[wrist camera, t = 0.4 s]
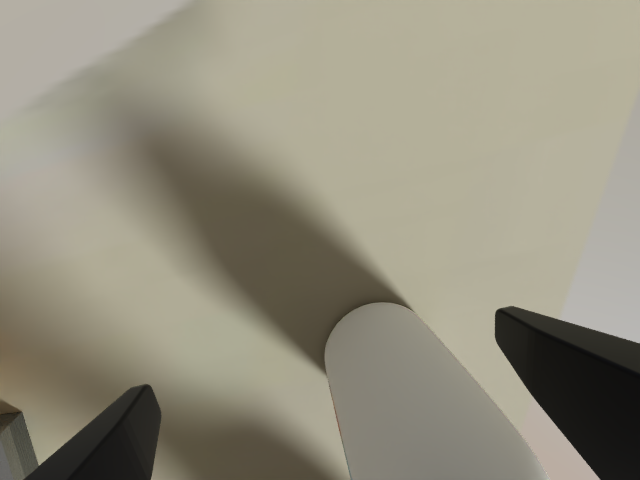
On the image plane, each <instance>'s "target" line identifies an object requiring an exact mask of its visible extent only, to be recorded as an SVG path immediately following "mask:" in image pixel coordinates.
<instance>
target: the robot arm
mask: <svg viewBox="0 0 640 480" xmlns="http://www.w3.org/2000/svg"><path fill="white" fill-rule="evenodd" d="M495 339H496V342H497V344H498V346H499V347H500V349H501V350H502V352H503V353H504V355H505V356H506V358H507V359H508V361H509V362H510V364H511V365H512V367H513V368H514V370H515V371H516V373H517V374H518V376H519V377H520V379H521V380H522V382H523V383H524V385H525V386H526V388H527V389H528V391H529V392H530V393H531V395H532V396H533V397H534V399H535V400H536V401H537V402H538V404H539V405H540V406H541V407H542V408H543V410H544V411H545V412H546V413H547V415H548V416H549V417H550V418H551V420H552V421H553V422H554V423H555V424H556V426H557V427H558V428H559V429H560V431H561V432H562V433H563V434H564V436H565V437H566V438H567V439H568V440H569V442H570V443H571V444H572V445H573V447H574V448H575V449H576V450H577V451H578V453H579V454H580V455H581V456H582V458H583V459H584V460H585V461H586V463H587V464H588V465H589V466H590V467H591V469H592V470H593V471H594V472H595V474H596V475H597V476H598V477H599V478H600V480H640V343H636V342H633V341H630V340H626V339H622V338H619V337H616V336H613V335H609V334H606V333H602V332H599V331H596V330H592V329H589V328H585V327H582V326H579V325H575V324H572V323H568V322H565V321H562V320H558V319H555V318H552V317H548V316H545V315H541V314H538V313H535V312H531V311H528V310H524V309H521V308H518V307H514V306H509V307H504V308H500V309H498V310H497V311H496V313H495ZM160 423H161V410H160V407H159V404H158V402H157V399H156V397H155V394H154V392H153V389H152V387H151V386H150V385H148V384H145V385H140V386H135V387H132V388H130V389H129V390H127V391H126V392H125V393H124V394H123V395H122V396H120V397H119V398H118V399H117V400H116V401H115V402H113V403H112V404H111V405H110V406H109V407H108V408H106V409H105V410H104V411H103V412H102V413H101V414H99V415H98V416H97V417H96V418H95V419H94V420H92V421H91V422H90V423H89V424H88V425H87V426H85V427H84V428H83V429H82V430H81V431H79V432H78V433H77V434H76V435H75V436H74V437H72V438H71V439H70V440H69V441H68V442H67V443H65V444H64V445H63V446H62V447H61V448H60V449H58V450H57V451H56V452H55V453H54V454H53V455H51V456H50V457H49V458H48V459H47V460H46V461H44V462H43V463H42V464H41V465H40V466H39V467H37V468H36V469H35V470H34V471H33V472H31V473H30V474H29V475H28V476H27V477H26V478H24V479H23V480H151V476H152V470H153V464H154V458H155V452H156V447H157V441H158V435H159V429H160Z"/></svg>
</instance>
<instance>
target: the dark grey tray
mask: <svg viewBox="0 0 640 480" xmlns="http://www.w3.org/2000/svg"><path fill="white" fill-rule="evenodd" d="M37 467H39V466H38V463H37V460H36V456H35V453H34V450H33V447H32V443H31V440H30V437H29V434H28V430H27V427H26V424H25V420H24V417H23V414H22V412H19V413H11V414H3V415H0V480H23V479H24V478H26V477H27V476H28V475H29V474H30V473H31V472H33V471H34V470H35V469H36V468H37Z"/></svg>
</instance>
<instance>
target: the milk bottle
mask: <svg viewBox="0 0 640 480" xmlns="http://www.w3.org/2000/svg"><path fill="white" fill-rule="evenodd" d="M324 359H325V367H326V373H327V378H328V382H329V387H330V391H331V396H332V400H333V404H334V409H335V413H336V418H337V422H338V427H339V431H340V435H341V439H342V444H343V448H344V452H345V456H346V460H347V465H348V469H349V473H350V477H351V480H550V478H549V476H548V474H547V473H546V471H545V469H544V467H543V466H542V464H541V462H540V461H539V459H538V458H537V456H536V455H535V453H534V452H533V450H532V449H531V447H530V446H529V444H528V443H527V442H526V440H525V439H524V438H523V437H522V435H521V434H520V433H519V432H518V430H517V429H516V428H515V427H514V425H513V424H512V423H511V422H510V420H509V419H508V418H507V417H506V415H505V414H504V413H503V412H502V410H501V409H500V408H499V407H498V406H497V404H496V403H495V402H494V401H493V400H492V399H491V397H490V396H489V395H488V394H487V393H486V392H485V390H484V389H483V388H482V387H481V386H480V385H479V384H478V382H477V381H476V380H475V379H474V378H473V377H472V375H471V374H470V373H469V372H468V371H467V370H466V368H465V367H464V366H463V365H462V364H461V363H460V362H459V360H458V359H457V358H456V357H455V356H454V355H453V354H452V353H451V351H450V350H449V349H448V348H447V347H446V346H445V345H444V343H443V342H442V341H441V340H440V339H439V338H438V337H437V336H436V334H435V333H434V332H433V331H432V330H431V329H430V328H429V327H428V325H427V324H426V323H425V322H424V321H423V320H422V319H421V318H420V317H419V316H418V315H417V314H416V313H414V312H413V311H411V310H410V309H408V308H406V307H404V306H401V305H398V304H394V303H386V302H380V303H371V304H367V305H363V306H361V307H359V308H356V309H354V310H352V311H351V312H350V313H348V314H347V315H345V316H344V317H343V318H342V319H341V320H340V321H339V322H338V323H337V325H336V326H335V327H334V329H333V330H332V332H331V334H330V336H329V338H328V340H327V343H326V347H325V356H324Z"/></svg>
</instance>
